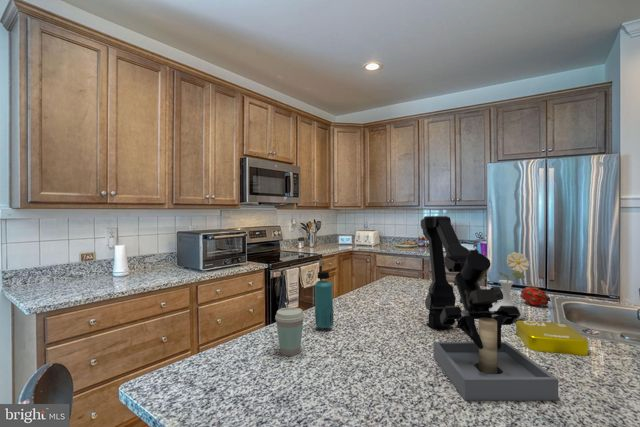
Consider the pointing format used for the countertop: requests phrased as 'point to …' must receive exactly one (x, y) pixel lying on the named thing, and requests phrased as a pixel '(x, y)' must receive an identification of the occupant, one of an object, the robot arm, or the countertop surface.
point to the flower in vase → (516, 264)
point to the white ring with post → (385, 301)
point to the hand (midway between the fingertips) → (490, 348)
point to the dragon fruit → (534, 296)
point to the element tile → (551, 338)
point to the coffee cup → (289, 330)
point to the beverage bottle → (323, 301)
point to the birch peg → (488, 346)
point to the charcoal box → (508, 384)
